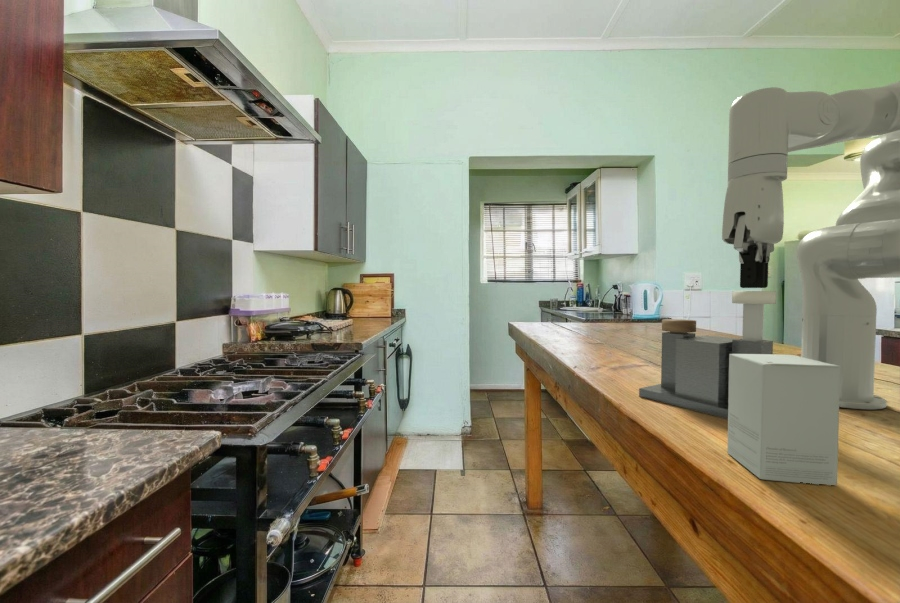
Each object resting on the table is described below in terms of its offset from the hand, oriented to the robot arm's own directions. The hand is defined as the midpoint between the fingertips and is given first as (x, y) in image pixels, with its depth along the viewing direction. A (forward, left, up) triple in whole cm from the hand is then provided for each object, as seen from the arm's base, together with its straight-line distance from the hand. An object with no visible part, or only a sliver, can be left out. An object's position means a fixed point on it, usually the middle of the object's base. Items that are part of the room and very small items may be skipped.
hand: (753, 287), depth 63 cm
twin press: (0, -6, -21) cm, 21 cm away
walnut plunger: (0, -12, -18) cm, 22 cm away
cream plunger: (0, 0, -13) cm, 13 cm away
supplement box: (+20, +11, -21) cm, 31 cm away
